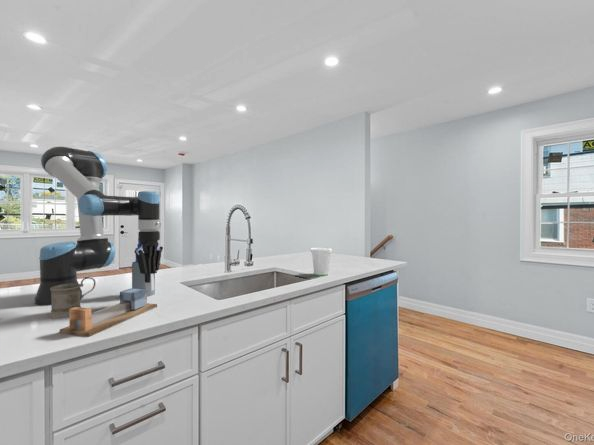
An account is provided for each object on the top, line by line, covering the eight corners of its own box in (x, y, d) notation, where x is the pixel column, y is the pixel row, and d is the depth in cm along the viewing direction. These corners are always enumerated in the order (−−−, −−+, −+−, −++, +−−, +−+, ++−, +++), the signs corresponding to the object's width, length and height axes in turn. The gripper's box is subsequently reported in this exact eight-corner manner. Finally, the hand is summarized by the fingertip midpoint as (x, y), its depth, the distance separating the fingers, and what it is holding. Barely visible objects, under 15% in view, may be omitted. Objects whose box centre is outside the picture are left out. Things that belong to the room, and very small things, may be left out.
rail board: (59, 332, 87) (59, 309, 87) (133, 304, 114) (132, 286, 114) (89, 336, 85) (88, 312, 84) (157, 306, 112) (156, 288, 112)
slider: (119, 308, 106) (119, 291, 105) (130, 304, 110) (130, 288, 110) (134, 309, 104) (134, 293, 104) (145, 305, 109) (145, 289, 109)
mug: (55, 320, 98) (54, 284, 97) (43, 314, 103) (42, 280, 102) (102, 308, 110) (101, 276, 109) (89, 304, 115) (89, 273, 115)
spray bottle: (145, 290, 135) (145, 236, 134) (159, 293, 131) (158, 237, 130) (127, 295, 126) (126, 238, 126) (141, 298, 123) (140, 239, 122)
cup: (332, 276, 166) (332, 250, 166) (310, 276, 166) (310, 249, 166) (330, 272, 179) (330, 247, 178) (310, 272, 179) (310, 247, 178)
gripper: (145, 231, 108) (145, 295, 108) (168, 229, 120) (169, 286, 121) (128, 231, 109) (128, 293, 110) (152, 229, 122) (153, 285, 123)
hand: (149, 290), depth 116 cm, fingers closed
